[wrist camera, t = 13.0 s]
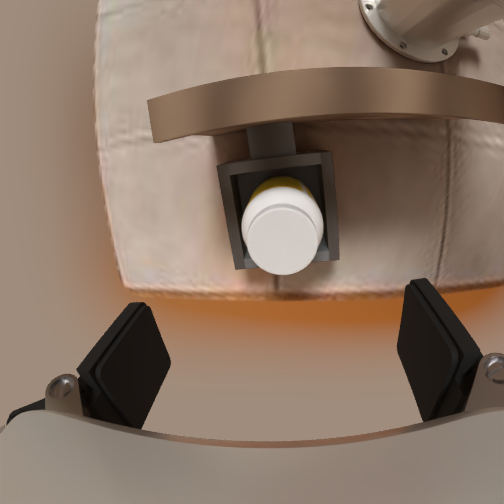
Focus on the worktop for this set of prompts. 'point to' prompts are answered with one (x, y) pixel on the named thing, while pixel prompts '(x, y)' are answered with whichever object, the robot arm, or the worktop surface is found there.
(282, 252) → the pill bottle
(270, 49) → the worktop surface
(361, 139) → the worktop surface
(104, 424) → the robot arm
